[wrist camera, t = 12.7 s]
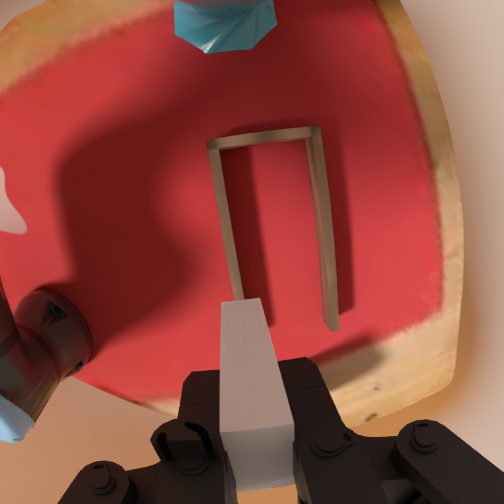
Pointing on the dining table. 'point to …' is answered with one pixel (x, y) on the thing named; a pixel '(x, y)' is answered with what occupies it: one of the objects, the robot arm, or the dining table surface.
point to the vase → (223, 23)
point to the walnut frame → (319, 200)
